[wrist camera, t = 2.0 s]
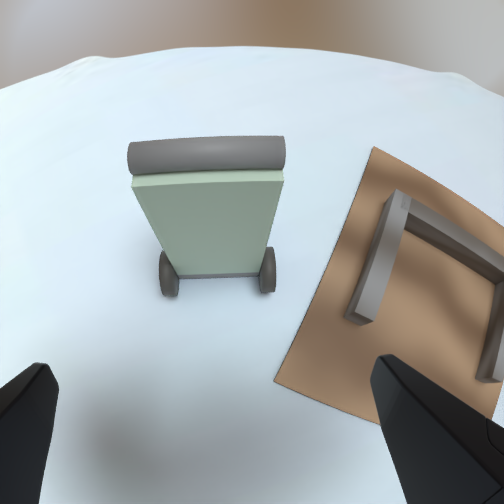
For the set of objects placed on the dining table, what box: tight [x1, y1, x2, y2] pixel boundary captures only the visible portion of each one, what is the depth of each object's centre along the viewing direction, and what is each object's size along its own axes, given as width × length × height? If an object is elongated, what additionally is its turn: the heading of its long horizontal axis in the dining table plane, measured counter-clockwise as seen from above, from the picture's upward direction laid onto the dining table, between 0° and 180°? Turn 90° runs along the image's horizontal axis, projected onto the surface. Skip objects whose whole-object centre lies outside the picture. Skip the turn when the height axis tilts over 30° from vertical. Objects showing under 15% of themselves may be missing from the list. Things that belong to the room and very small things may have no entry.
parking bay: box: [274, 146, 504, 425], centre depth 22 cm, size 22×20×3 cm
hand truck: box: [127, 136, 286, 296], centre depth 17 cm, size 6×7×13 cm
